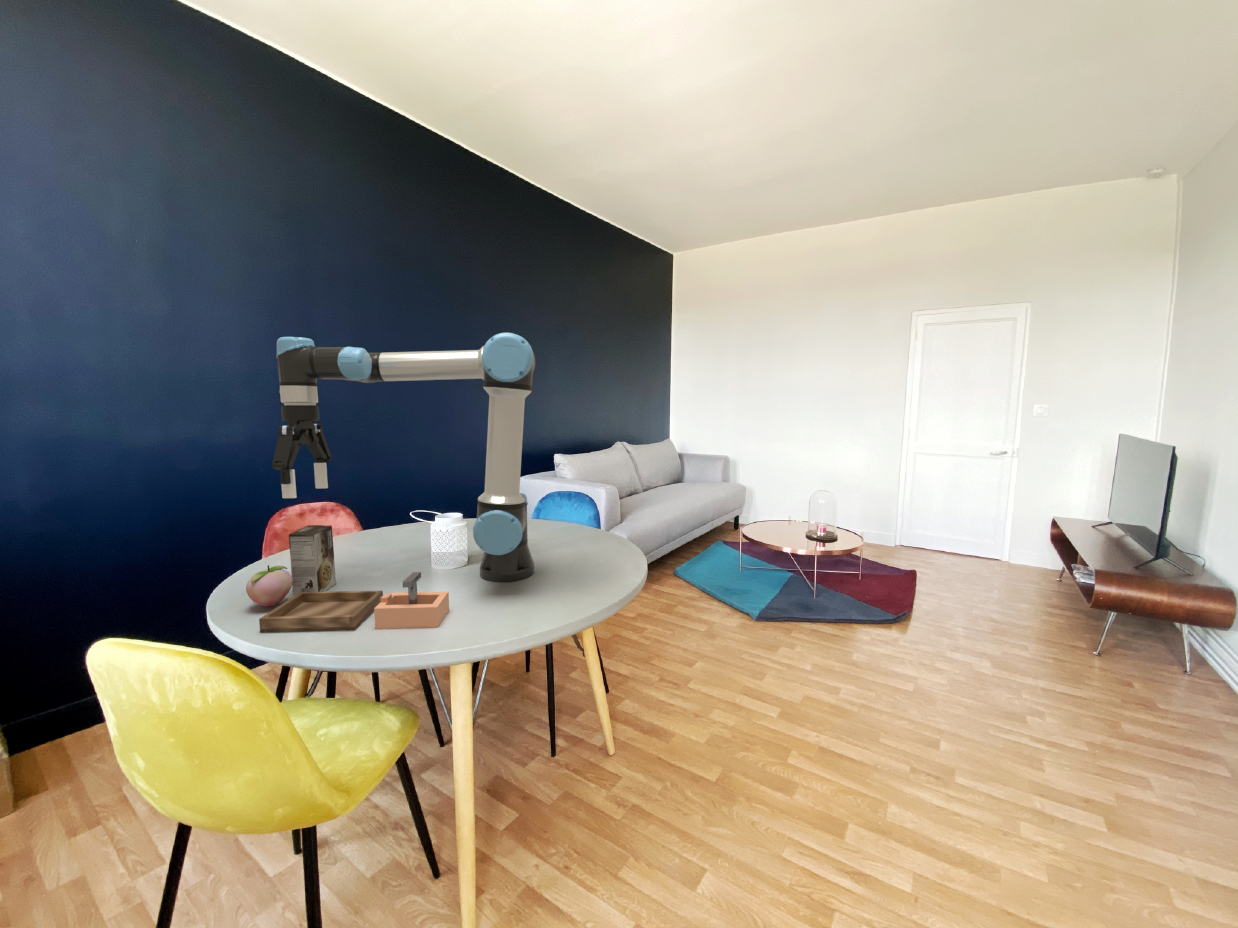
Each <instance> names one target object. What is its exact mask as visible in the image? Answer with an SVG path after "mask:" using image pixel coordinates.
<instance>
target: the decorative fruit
mask: <svg viewBox="0 0 1238 928" xmlns="http://www.w3.org/2000/svg"><path fill="white" fill-rule="evenodd" d="M285 569H286V570H285ZM287 570H288V567H286V566H285V565H274V566H271V567H270V565H269V564H268V565H267V569H263V570H259V571H257V572H255V573H254V574H253V575H252V576H250V577H249V579H248V580H247V582H246V585H245V591H246V593H247V596H248V598H249V599H250V600H251V601H252V602H253V603H255V604H257V605H259V606H262V607H263V606H264V607H274V606H276V605H277V604H278V603H280V602H281V601H283V600H284V599H285V598H286V596H287V595H288V594H289V593H290V590H291V589H292V588H293V586H292V584H293V578H292V574H290V572H289V571H287Z"/></svg>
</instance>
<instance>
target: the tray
mask: <svg viewBox="0 0 1238 928" xmlns="http://www.w3.org/2000/svg"><path fill="white" fill-rule="evenodd" d="M383 595H384V591H383V590H346V591H345V590H340V591H337V590H336V591H335V590H334V591H325V592H300V593H298V594H297V595H295V596H294V597H293V596H292V597H290V598H289V599H288V600H286V601H284V602H283V603H281V604H280V605H279V606H277V607H275V608H274V609H272V610H271V611H269V612H268V613H266V614H264V615H263V616H261V617H260V618H259V619H258V621H259V633H261V634H262V633H263V634H264V633H265V634H266V633H267V634H268V633H269V634H270V633H303V632H307V633H309V632H310V633H311V632H339V631H340V632H343V631H344V632H346V631H356V630H357V629H358V628H359V627H360V626H361V625H362V624H363V623H364V622H365V621H366V620H367V619H368V618H369V617H370V616H372V615H373V613H374V608H375V607H376V606H377V605H378V604H379V603H380V598H381V597H382V596H383Z"/></svg>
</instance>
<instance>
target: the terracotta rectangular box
mask: <svg viewBox="0 0 1238 928" xmlns="http://www.w3.org/2000/svg"><path fill="white" fill-rule="evenodd" d="M417 602H418V604H410V605H409V598H408V591H407V592H404V591H403V592H390V593H383V596H382V597H381V598H380V603H379V604H378V605H377V606H376V607H375V608H374V612H373V613H374V628H375V630H379V629H380V630H381V629H382V630H384V629H385V630H386V629H387V630H389V629H420V628H421V629H423V628H424V629H426V628H439V626H440V625H441V623H442V621H443V620H444V618H445V617H446V615H447V614H448V613H449V611H450V595H449V591H417Z"/></svg>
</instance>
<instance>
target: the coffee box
mask: <svg viewBox="0 0 1238 928" xmlns="http://www.w3.org/2000/svg"><path fill="white" fill-rule="evenodd" d="M288 542H289V543H288V545H289V558H290V569H291V576H292V578H293V584H292V597H294V596H295V595H297V594H298V593H300V592H328V591H329V589H331V588H332V587H333V586H335V585H336V584H337V579H336V567H335V551H334V536H333V525H323V524H322V525H321V524H319V525H318V524H316V525H315V524H313V525H312V524H310V525H309V524H308V525H306V526H304V527H301V528H299V529H297V530H295V531H293V532H290V533H289V534H288Z"/></svg>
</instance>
